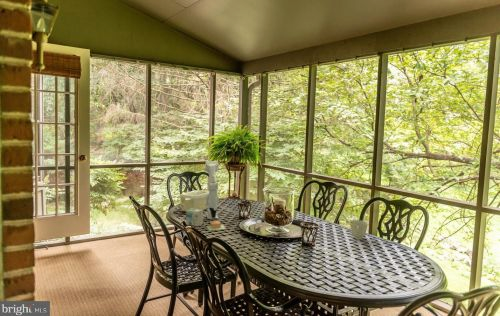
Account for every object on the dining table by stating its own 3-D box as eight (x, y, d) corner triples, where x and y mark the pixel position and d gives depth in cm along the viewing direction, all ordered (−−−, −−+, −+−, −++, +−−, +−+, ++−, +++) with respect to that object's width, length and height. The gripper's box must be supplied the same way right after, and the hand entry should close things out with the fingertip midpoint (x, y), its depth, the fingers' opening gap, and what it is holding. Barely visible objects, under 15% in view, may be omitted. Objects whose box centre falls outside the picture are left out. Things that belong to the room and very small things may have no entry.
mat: (206, 226, 250) (206, 226, 250) (222, 225, 254) (222, 224, 254) (209, 230, 241) (209, 230, 240) (226, 229, 244) (226, 228, 244)
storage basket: (198, 205, 313) (197, 189, 312) (212, 207, 305) (212, 191, 303) (179, 211, 293) (179, 193, 292) (194, 214, 285) (194, 196, 283)
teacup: (347, 241, 220) (347, 225, 219) (349, 234, 234) (349, 219, 233) (367, 243, 216) (368, 227, 215) (368, 236, 230) (368, 221, 229)
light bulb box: (186, 224, 255) (185, 210, 254) (190, 222, 261) (190, 208, 260) (198, 226, 251) (198, 211, 250) (203, 223, 257) (203, 209, 256)
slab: (210, 221, 252) (212, 224, 245) (218, 220, 253) (220, 223, 247) (210, 225, 252) (212, 228, 245) (218, 224, 254) (220, 227, 247)
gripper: (205, 197, 260) (206, 215, 261) (209, 201, 246) (210, 220, 247) (215, 197, 262) (215, 214, 263) (219, 201, 248) (219, 220, 249)
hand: (213, 217), depth 255 cm, fingers closed
